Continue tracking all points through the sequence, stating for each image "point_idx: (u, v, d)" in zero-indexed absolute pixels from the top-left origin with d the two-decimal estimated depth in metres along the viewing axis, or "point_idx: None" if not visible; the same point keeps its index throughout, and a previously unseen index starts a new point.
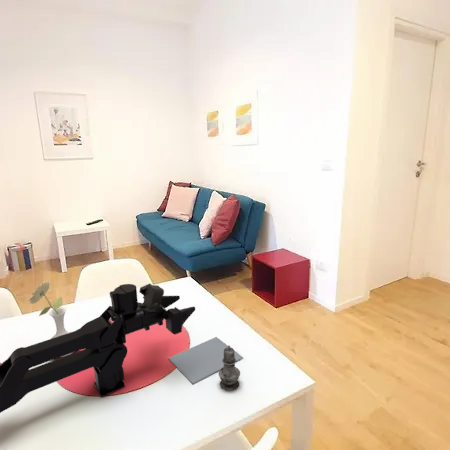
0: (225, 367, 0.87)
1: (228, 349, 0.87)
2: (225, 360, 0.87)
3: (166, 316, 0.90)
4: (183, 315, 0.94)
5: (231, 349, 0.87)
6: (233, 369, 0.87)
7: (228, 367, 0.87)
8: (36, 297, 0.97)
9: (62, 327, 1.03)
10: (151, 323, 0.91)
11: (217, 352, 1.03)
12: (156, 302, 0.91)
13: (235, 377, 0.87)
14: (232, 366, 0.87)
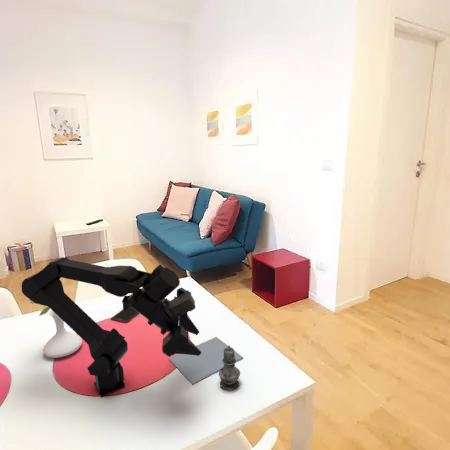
0: (225, 367, 0.87)
1: (228, 349, 0.87)
2: (225, 360, 0.87)
3: (173, 329, 0.77)
4: (185, 347, 0.79)
5: (231, 349, 0.87)
6: (233, 369, 0.87)
7: (228, 367, 0.87)
8: None
9: (62, 327, 1.03)
10: (157, 322, 0.80)
11: (217, 352, 1.03)
12: (179, 310, 0.80)
13: (235, 377, 0.87)
14: (232, 366, 0.87)
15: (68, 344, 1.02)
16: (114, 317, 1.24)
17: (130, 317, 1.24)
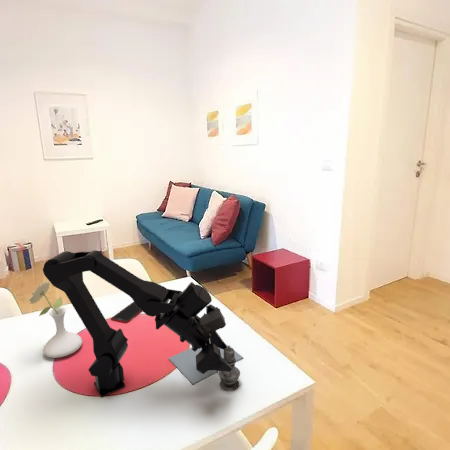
0: None
1: (228, 349, 0.87)
2: (225, 360, 0.87)
3: (206, 347, 0.79)
4: (217, 363, 0.81)
5: (231, 349, 0.87)
6: (233, 369, 0.87)
7: None
8: (36, 297, 0.97)
9: (62, 327, 1.03)
10: (189, 339, 0.82)
11: None
12: (210, 328, 0.82)
13: (235, 377, 0.87)
14: (232, 366, 0.87)
15: (68, 344, 1.02)
16: (114, 317, 1.24)
17: (130, 317, 1.24)
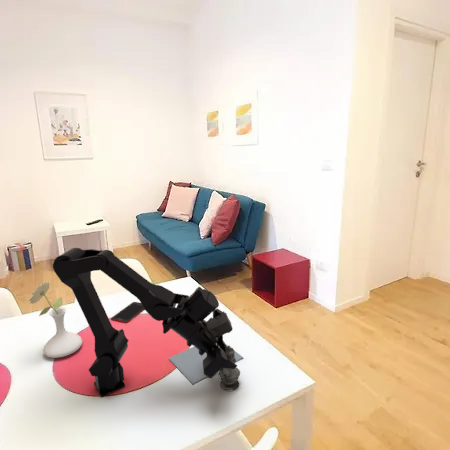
0: None
1: (228, 348, 0.87)
2: None
3: (213, 351, 0.80)
4: None
5: (231, 349, 0.87)
6: (233, 369, 0.87)
7: None
8: (36, 297, 0.97)
9: (62, 327, 1.03)
10: (196, 343, 0.82)
11: None
12: (217, 332, 0.83)
13: (235, 377, 0.87)
14: None
15: (68, 344, 1.02)
16: (114, 317, 1.24)
17: (130, 317, 1.24)
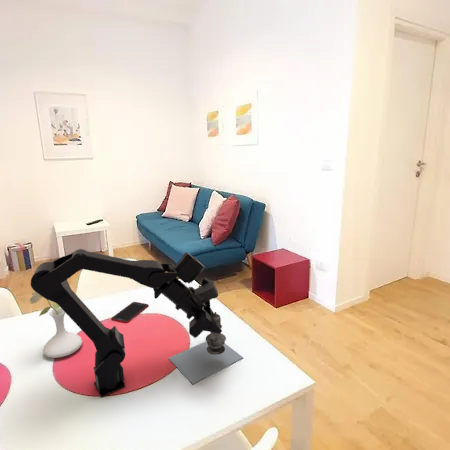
0: (211, 332, 0.93)
1: (214, 315, 0.93)
2: None
3: (199, 314, 0.86)
4: (208, 325, 0.90)
5: (217, 315, 0.93)
6: (219, 334, 0.93)
7: None
8: (36, 297, 0.97)
9: (62, 327, 1.03)
10: (184, 307, 0.89)
11: None
12: (204, 297, 0.89)
13: (220, 342, 0.93)
14: None
15: (68, 344, 1.02)
16: (114, 317, 1.24)
17: (130, 317, 1.24)
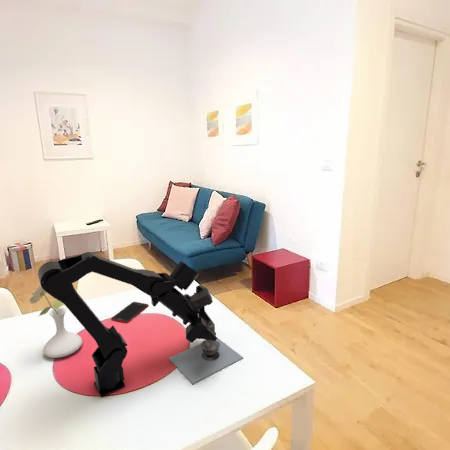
0: None
1: (209, 323, 0.98)
2: None
3: (195, 320, 0.91)
4: (204, 333, 0.94)
5: (212, 323, 0.98)
6: (213, 341, 0.99)
7: None
8: (36, 297, 0.97)
9: (62, 327, 1.03)
10: (180, 314, 0.94)
11: None
12: (199, 304, 0.94)
13: (215, 348, 0.98)
14: None
15: (68, 344, 1.02)
16: (114, 317, 1.24)
17: (130, 317, 1.24)
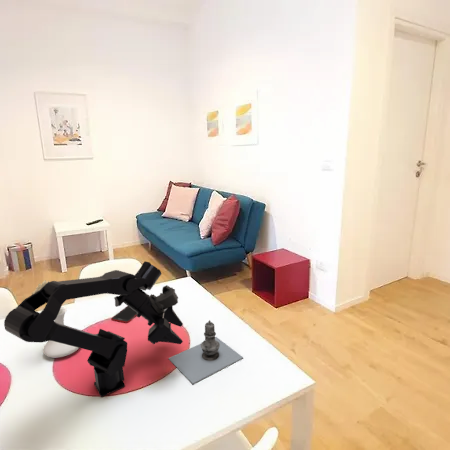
0: (206, 339, 0.99)
1: (208, 323, 0.98)
2: (206, 333, 0.98)
3: (158, 321, 0.90)
4: (168, 336, 0.92)
5: (211, 323, 0.98)
6: (213, 341, 0.99)
7: (208, 339, 0.98)
8: None
9: None
10: (144, 315, 0.93)
11: None
12: (163, 305, 0.93)
13: (215, 348, 0.98)
14: (212, 338, 0.99)
15: None
16: (114, 317, 1.24)
17: (130, 317, 1.24)
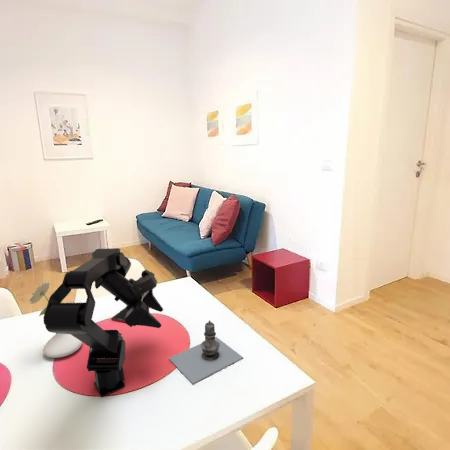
0: (206, 339, 0.99)
1: (208, 323, 0.98)
2: (206, 333, 0.98)
3: (135, 304, 0.89)
4: (147, 319, 0.91)
5: (211, 323, 0.98)
6: (213, 341, 0.99)
7: (208, 339, 0.98)
8: (36, 297, 0.97)
9: None
10: (122, 298, 0.92)
11: None
12: (142, 288, 0.92)
13: (215, 348, 0.98)
14: (212, 338, 0.99)
15: (68, 344, 1.02)
16: (114, 317, 1.24)
17: None
